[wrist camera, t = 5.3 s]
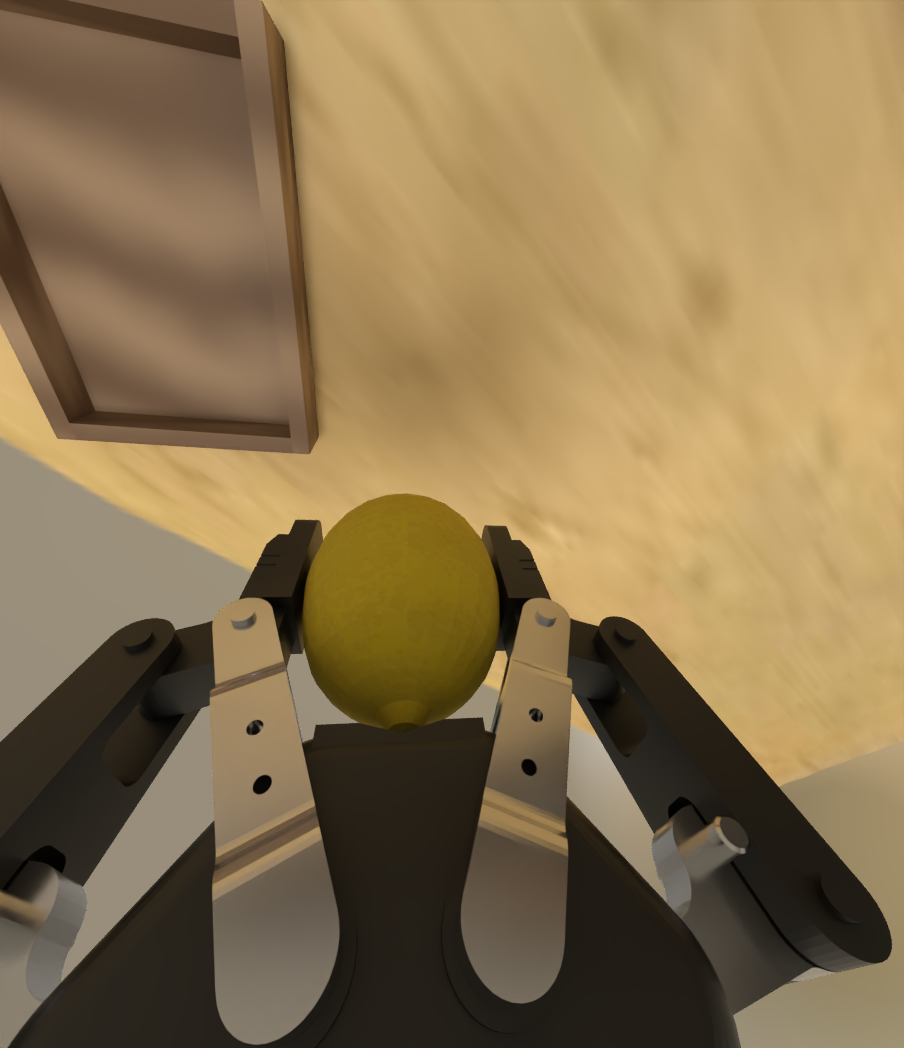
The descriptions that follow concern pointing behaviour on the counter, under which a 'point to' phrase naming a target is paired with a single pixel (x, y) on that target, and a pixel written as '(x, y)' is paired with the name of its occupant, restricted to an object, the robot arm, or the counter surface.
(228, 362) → the tray
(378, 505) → the lemon
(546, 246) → the counter surface
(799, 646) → the counter surface
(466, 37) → the counter surface
